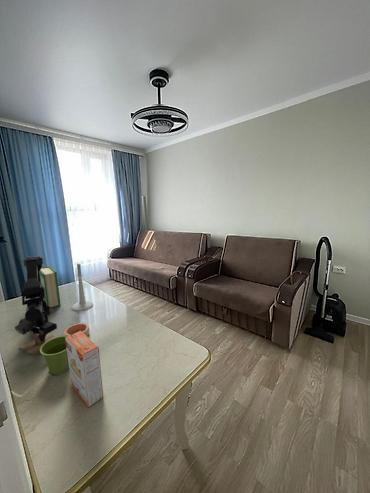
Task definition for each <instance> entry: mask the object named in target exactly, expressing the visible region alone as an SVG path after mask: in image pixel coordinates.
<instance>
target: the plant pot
mask: <svg viewBox="0 0 370 493" xmlns="http://www.w3.org/2000/svg"><path fill="white" fill-rule="evenodd" d="M66 337H68V336H64V335H60V336H59V335H58V336H56V337H55V338H52V339H50V340H48V341H47V342H45V343H44V344H43V345H42V346H41V348H40V353H41V354H40V355H42V357H43V358H44V360H45V363H46V365H47V367H48V371H49V374H50V375H56V376H57V375H60V374H63V373H65V372H66V371H67V370H68V369H69V362H68V355H67V348H66V340H65V338H66Z"/></svg>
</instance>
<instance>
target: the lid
mask: <svg viewBox="0 0 370 493" xmlns="http://www.w3.org/2000/svg"><path fill="white" fill-rule="evenodd" d="M33 337H34V338H32V339H30V340H28V341H26V342H25V343H22V344H21V345H20V346H18V348H19V349H22V350H24V351H26V352H29V353H31V354H34V355H38V354H39V353H40V348H41V346H42V345H43V344H44V343H45V342H47V341H48V340H50V339H52V338H55V337H57V336H56V335H54V334H50V333H48V334H46V337H45V339H44V341H43V342H41V340H40V337H39V334H38V333H35V334H34V335H33ZM19 349H18V350H19ZM26 352H25V353H26ZM31 354H30V355H31ZM39 355H40V354H39ZM39 355H38V356H39Z"/></svg>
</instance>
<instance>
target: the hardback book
mask: <svg viewBox="0 0 370 493" xmlns="http://www.w3.org/2000/svg"><path fill="white" fill-rule="evenodd" d="M40 278H41V286H42V287H43V288H44V292H45V298H44V299H45V300H46V301H47V305H49V306H50V308H53V307H57V306H58V307H61V297H60V289H59V282H58V274H57V271H56V270H55V269H54V268H53V267H52V266H50V265H48V266H42V268H41V270H40Z"/></svg>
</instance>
